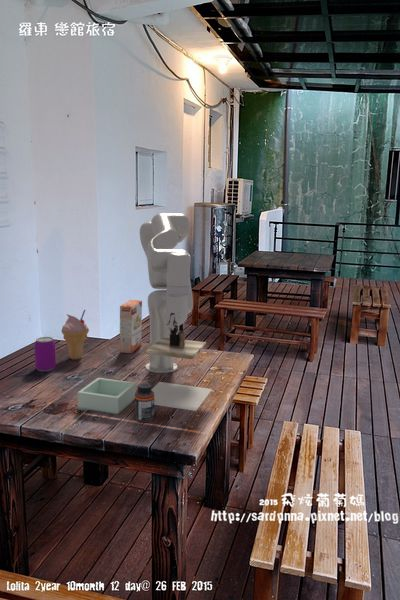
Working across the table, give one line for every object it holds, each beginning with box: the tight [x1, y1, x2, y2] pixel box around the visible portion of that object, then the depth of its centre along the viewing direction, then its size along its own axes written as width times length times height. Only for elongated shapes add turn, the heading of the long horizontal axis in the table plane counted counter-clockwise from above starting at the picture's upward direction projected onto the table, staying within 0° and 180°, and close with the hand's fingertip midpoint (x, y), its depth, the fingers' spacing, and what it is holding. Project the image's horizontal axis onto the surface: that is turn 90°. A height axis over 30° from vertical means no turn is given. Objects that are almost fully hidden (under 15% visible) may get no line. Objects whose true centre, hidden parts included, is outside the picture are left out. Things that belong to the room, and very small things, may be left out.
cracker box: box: [119, 299, 143, 354], centre depth 231 cm, size 14×6×21 cm, turn 168°
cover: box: [145, 330, 207, 360], centre depth 176 cm, size 16×16×6 cm
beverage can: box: [34, 336, 57, 372], centre depth 203 cm, size 8×8×12 cm
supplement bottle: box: [134, 382, 155, 424], centre depth 161 cm, size 6×6×11 cm
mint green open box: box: [77, 377, 137, 415], centre depth 172 cm, size 14×14×6 cm
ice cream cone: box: [61, 309, 90, 360], centre depth 216 cm, size 11×11×20 cm
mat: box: [151, 381, 213, 412], centre depth 180 cm, size 20×20×1 cm
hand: (177, 343), depth 176 cm, fingers closed on cover, 4 cm apart
